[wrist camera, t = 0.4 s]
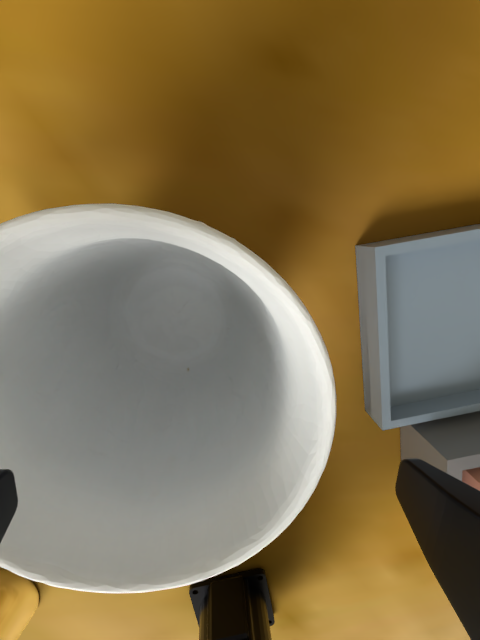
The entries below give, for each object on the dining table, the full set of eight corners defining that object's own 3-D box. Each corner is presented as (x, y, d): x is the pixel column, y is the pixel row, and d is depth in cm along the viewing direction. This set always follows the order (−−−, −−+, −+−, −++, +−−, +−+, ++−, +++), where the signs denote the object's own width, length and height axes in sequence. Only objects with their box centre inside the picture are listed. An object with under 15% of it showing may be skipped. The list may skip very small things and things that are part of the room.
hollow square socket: (480, 469, 26) (540, 522, 21) (401, 486, 26) (445, 543, 21) (484, 397, 24) (552, 438, 19) (400, 414, 24) (447, 460, 19)
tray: (518, 379, 24) (553, 396, 22) (365, 410, 24) (382, 430, 21) (534, 213, 21) (577, 211, 18) (355, 245, 20) (374, 247, 18)
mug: (8, 343, 20) (-340, 534, 7) (44, 166, 17) (-386, -5, 5) (229, 405, 22) (253, 625, 10) (287, 258, 20) (417, 301, 7)
